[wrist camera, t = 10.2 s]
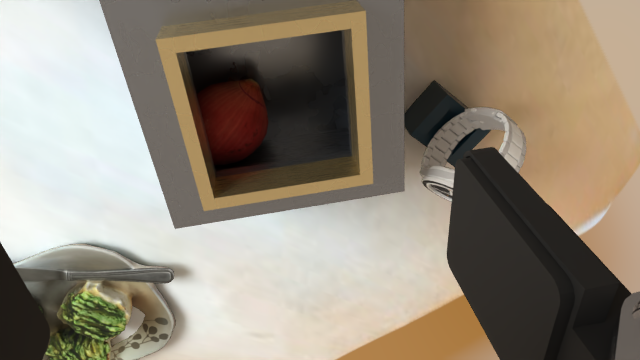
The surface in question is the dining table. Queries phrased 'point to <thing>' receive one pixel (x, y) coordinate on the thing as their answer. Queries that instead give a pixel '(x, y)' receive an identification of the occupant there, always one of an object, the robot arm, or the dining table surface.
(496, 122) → the watch
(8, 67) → the dining table surface
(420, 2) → the dining table surface
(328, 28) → the housing
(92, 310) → the salad plate
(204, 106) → the onion
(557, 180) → the dining table surface
